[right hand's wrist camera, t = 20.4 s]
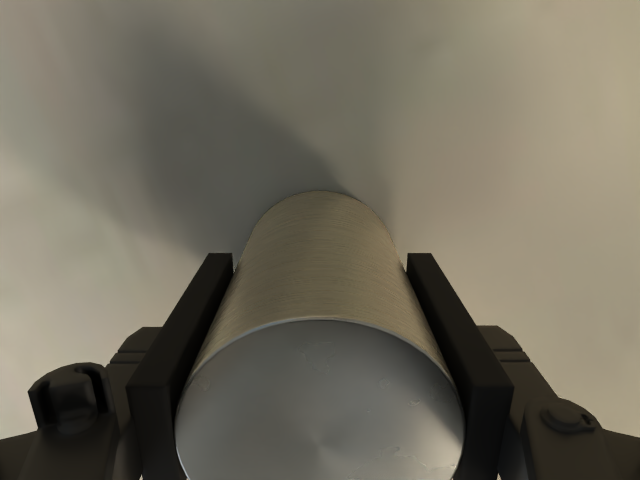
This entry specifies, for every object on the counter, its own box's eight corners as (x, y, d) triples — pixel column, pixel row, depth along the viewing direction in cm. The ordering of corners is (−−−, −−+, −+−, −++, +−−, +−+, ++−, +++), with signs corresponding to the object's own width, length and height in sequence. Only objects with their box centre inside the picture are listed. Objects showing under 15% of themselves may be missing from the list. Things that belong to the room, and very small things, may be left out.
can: (236, 311, 18) (160, 523, 9) (259, 175, 16) (189, 288, 7) (372, 337, 18) (418, 562, 10) (411, 207, 16) (511, 349, 8)
